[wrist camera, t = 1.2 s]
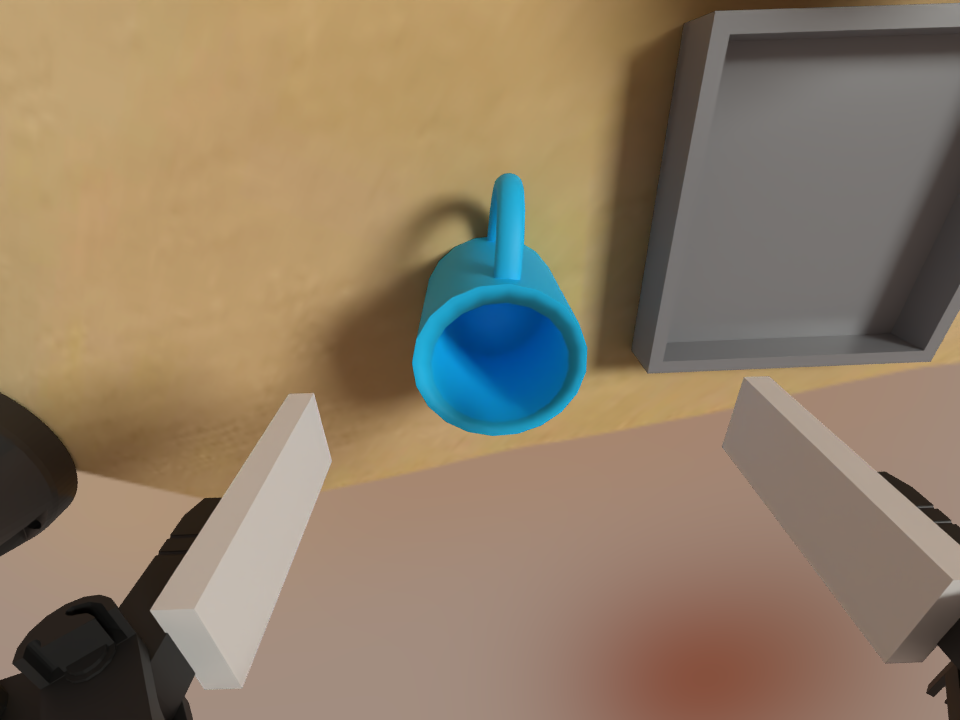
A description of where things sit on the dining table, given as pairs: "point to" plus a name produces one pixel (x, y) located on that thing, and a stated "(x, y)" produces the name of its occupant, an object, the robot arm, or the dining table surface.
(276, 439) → the robot arm
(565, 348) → the mug
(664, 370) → the tray
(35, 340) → the dining table surface
